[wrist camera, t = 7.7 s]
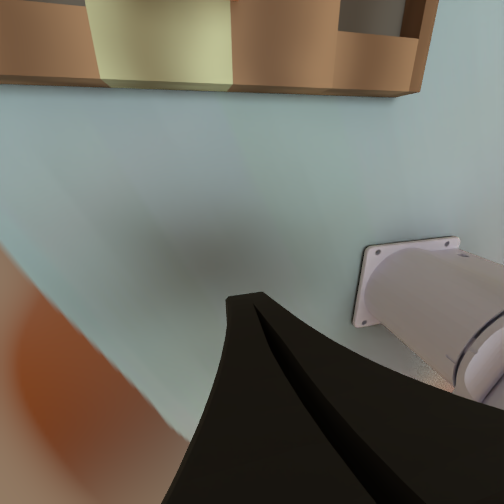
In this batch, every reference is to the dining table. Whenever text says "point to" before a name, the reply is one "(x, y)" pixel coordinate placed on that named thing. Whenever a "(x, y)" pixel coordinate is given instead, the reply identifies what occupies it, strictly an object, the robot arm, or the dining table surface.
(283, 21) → the board
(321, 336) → the robot arm
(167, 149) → the dining table surface
